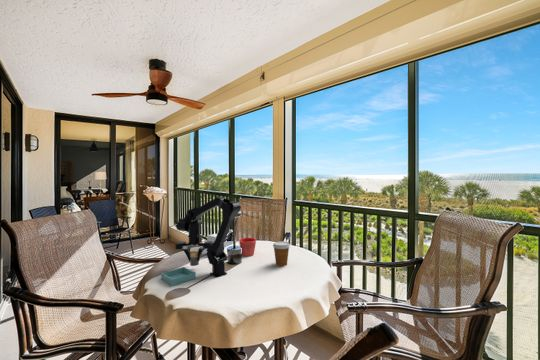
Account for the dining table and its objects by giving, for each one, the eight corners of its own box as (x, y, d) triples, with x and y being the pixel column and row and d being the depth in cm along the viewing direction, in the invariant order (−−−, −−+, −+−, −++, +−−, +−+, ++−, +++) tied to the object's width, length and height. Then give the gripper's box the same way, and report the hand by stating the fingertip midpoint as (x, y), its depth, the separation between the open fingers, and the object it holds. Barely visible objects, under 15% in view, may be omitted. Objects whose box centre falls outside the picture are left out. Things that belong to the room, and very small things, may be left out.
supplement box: (214, 257, 156) (214, 236, 156) (206, 254, 160) (206, 235, 160) (223, 254, 161) (223, 234, 161) (215, 252, 166) (215, 233, 166)
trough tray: (195, 278, 121) (195, 272, 121) (172, 286, 113) (172, 279, 113) (184, 272, 129) (184, 266, 129) (161, 279, 121) (161, 273, 121)
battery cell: (200, 264, 134) (200, 251, 134) (192, 266, 131) (192, 252, 131) (196, 262, 137) (195, 249, 137) (188, 264, 134) (188, 251, 134)
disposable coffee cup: (270, 266, 138) (270, 244, 138) (276, 260, 147) (276, 240, 147) (286, 268, 135) (286, 246, 135) (292, 262, 144) (291, 242, 144)
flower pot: (255, 257, 154) (255, 241, 154) (238, 257, 154) (238, 241, 154) (256, 252, 165) (256, 237, 165) (240, 252, 165) (240, 237, 165)
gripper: (214, 228, 142) (214, 256, 142) (181, 229, 142) (182, 256, 142) (210, 233, 131) (210, 262, 131) (174, 233, 130) (174, 263, 130)
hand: (194, 261), depth 134 cm, fingers closed on battery cell, 4 cm apart
